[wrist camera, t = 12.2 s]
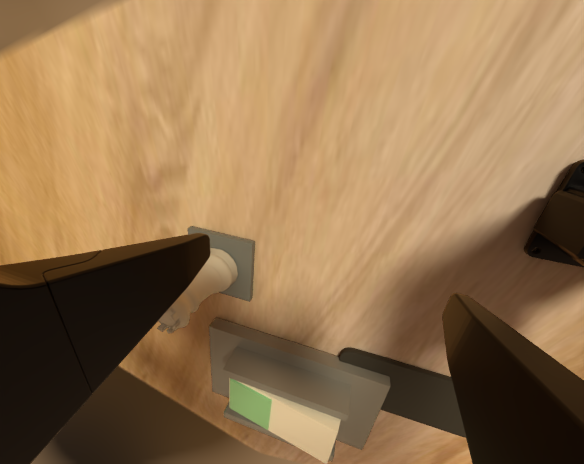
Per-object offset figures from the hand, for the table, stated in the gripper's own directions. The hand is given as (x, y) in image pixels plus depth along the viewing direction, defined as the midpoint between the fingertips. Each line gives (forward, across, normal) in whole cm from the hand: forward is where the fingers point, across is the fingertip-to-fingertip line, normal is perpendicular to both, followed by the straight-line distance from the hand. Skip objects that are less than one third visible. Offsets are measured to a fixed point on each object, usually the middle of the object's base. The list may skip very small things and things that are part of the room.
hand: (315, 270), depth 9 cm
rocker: (+8, +2, +24) cm, 25 cm away
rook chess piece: (+11, +11, +9) cm, 18 cm away
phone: (+12, -10, +20) cm, 25 cm away
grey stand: (+12, +2, +24) cm, 27 cm away
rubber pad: (+12, +11, +10) cm, 19 cm away
